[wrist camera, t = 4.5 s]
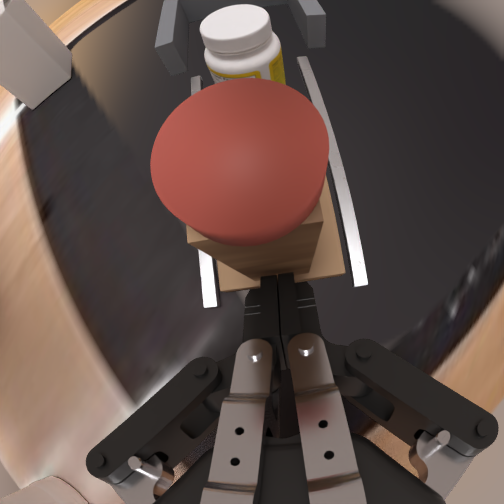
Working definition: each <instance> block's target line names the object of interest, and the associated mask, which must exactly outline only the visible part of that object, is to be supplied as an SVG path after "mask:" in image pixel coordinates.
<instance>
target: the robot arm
mask: <svg viewBox="0 0 504 504" xmlns="http://www.w3.org/2000/svg"><path fill="white" fill-rule="evenodd" d="M286 361H287V367H288V369H291V375H292V381H293V388H294V395H295V402H296V408H297V415H298V422H299V428H300V434H298V435H295V436H292V437H289V438H285V439H280V429H279V418H280V401H281V370H285V369H286ZM341 395H343V396H344V397H345V398H346V399H347V400H348V401H349V402H351V403H352V404H353V405H355V406H356V407H357V408H359V409H360V410H361V411H363V412H364V413H365V414H367V415H368V416H369V417H371V418H372V419H373V420H375V421H376V422H377V423H379V424H380V425H381V426H383V427H384V428H386V429H387V430H388V431H390V432H391V433H393V434H394V435H395V436H397V437H398V438H400V439H401V440H402V441H404V442H405V443H407V444H408V445H410V446H411V448H410V450H409V461H410V463H411V465H412V466H413V467H414V468H415V469H416V470H417V472H418V475H419V479H418V478H417V477H416V476H414V475H413V474H412V473H410V472H409V471H408V470H406V469H405V468H404V467H403V466H401V465H400V464H399V463H397V462H396V461H395V460H394V459H392V458H391V457H390V456H389V455H387V454H386V453H385V452H384V451H382V450H381V449H380V448H379V447H377V446H376V445H375V444H374V443H372V442H371V441H370V440H368V439H367V438H365V437H363V436H360V435H358V434H355V433H351V432H349V428H348V423H347V419H346V415H345V411H344V407H343V403H342V399H341ZM217 426H218V429H217V435H216V440H215V446H214V447H212V448H211V449H209V450H208V451H207V452H205V453H204V454H203V455H202V456H201V457H200V458H199V459H198V460H197V461H196V462H195V463H194V464H193V465H192V466H191V467H190V468H189V469H188V470H187V471H186V472H185V473H184V474H183V475H182V476H181V477H180V478H179V479H178V480H177V481H176V482H175V483H174V484H173V485H172V486H171V487H170V485H171V484H172V483H173V481H174V471H173V468H174V467H175V466H177V465H178V464H179V463H180V462H181V461H182V460H183V459H184V458H185V457H186V456H187V455H188V454H189V453H190V452H191V451H193V450H194V449H195V448H196V447H197V446H198V445H199V444H200V443H201V442H202V441H203V440H204V439H205V438H206V437H207V436H208V435H209V434H210V433H211V432H212V431H213V430H214V429H215V428H216V427H217ZM497 435H498V422H497V420H496V418H495V417H494V416H493V415H492V414H490V413H489V412H487V411H486V410H484V409H482V408H481V407H479V406H477V405H476V404H474V403H472V402H471V401H469V400H468V399H466V398H464V397H463V396H461V395H460V394H458V393H456V392H455V391H453V390H451V389H450V388H448V387H447V386H445V385H443V384H442V383H440V382H439V381H437V380H435V379H434V378H432V377H431V376H429V375H427V374H426V373H424V372H422V371H421V370H419V369H418V368H416V367H415V366H413V365H411V364H410V363H408V362H407V361H405V360H403V359H402V358H400V357H399V356H397V355H395V354H394V353H392V352H391V351H389V350H387V349H386V348H384V347H383V346H381V345H379V344H378V343H376V342H375V341H372V340H370V339H359V340H356V341H354V342H352V343H351V344H350V345H349V346H342V345H335V344H332V343H330V342H328V341H327V340H326V339H324V337H323V336H322V334H321V330H320V325H319V319H318V314H317V309H316V303H315V299H314V293H313V288H312V287H311V286H310V285H309V284H308V283H307V281H306V282H299V283H295V280H294V273H293V272H289V273H282V274H278V279H277V275H268V276H261V277H260V288H256V289H250V291H249V293H248V294H247V296H246V298H245V316H244V330H243V343H242V345H241V346H240V347H239V348H238V350H237V353H236V354H234V355H233V356H231V357H229V358H227V359H224V360H221V361H218V362H215V361H214V360H213V359H211V358H208V357H200V358H196V359H194V360H192V361H191V362H190V363H188V364H187V365H186V366H185V367H184V368H183V369H182V370H181V371H180V372H179V373H178V374H177V375H176V376H174V377H173V378H172V379H171V380H170V381H169V382H168V383H167V384H166V385H165V386H164V387H162V388H161V389H160V390H159V391H158V392H157V393H156V394H155V395H154V396H152V397H151V398H150V399H149V400H148V401H147V402H146V403H145V404H144V405H142V406H141V407H140V408H139V409H138V410H137V411H136V412H135V413H133V414H132V415H131V416H130V417H129V418H128V419H127V420H125V421H124V422H123V423H122V424H121V425H120V426H119V427H117V428H116V429H115V430H114V431H113V432H112V433H110V434H109V435H108V436H107V437H106V438H105V439H103V440H102V441H101V442H100V443H99V444H98V445H96V446H95V447H94V448H93V449H92V450H91V451H90V452H89V453H88V455H87V458H86V466H87V469H88V471H89V472H90V474H91V475H93V476H94V477H96V478H99V479H101V480H103V481H105V482H106V483H108V484H110V485H111V486H112V487H113V489H114V490H115V491H116V492H117V494H118V495H119V496H120V497H121V499H122V500H123V501H124V502H125V504H446V503H445V501H444V500H445V498H446V497H447V496H448V495H449V493H450V492H451V491H452V489H453V488H454V486H455V485H456V484H457V482H458V481H459V480H460V478H461V477H462V475H463V474H464V472H465V471H466V469H467V468H468V466H469V465H470V463H471V461H472V460H473V458H474V457H475V456H476V455H477V454H479V453H480V452H482V451H483V450H484V449H486V448H487V447H488V446H490V445H491V444H492V443H493V442H494V441H495V439H496V437H497ZM169 487H170V488H169ZM168 488H169V489H168Z"/></svg>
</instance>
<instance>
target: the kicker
mask: <svg viewBox="0 0 504 504" xmlns="http://www.w3.org/2000/svg"><path fill="white" fill-rule="evenodd" d="M328 157H329V137H328V132H327V128H326V125H325V123H324V120H323V118H322V116H321V115H320V113H319V111H318V110H317V109H316V107H315V106H314V105H313V104H312V103H311V102H310V101H309V100H308V99H307V98H306V97H305V96H304V95H302V94H301V93H299V92H298V91H296V90H295V89H293V88H291V87H289V86H287V85H284V84H282V83H279V82H275V81H271V80H267V79H260V78H240V79H233V80H227V81H223V82H220V83H216V84H214V85H211V86H209V87H206V88H204V89H202V90H200V91H198V92H197V93H195V94H193V95H192V96H190V97H189V98H188V99H186V100H185V101H184V102H182V103H181V104H180V105H179V106H178V107H177V108H176V109H175V110H174V111H173V112H172V113H171V114H170V116H169V117H168V118H167V119H166V121H165V123H164V124H163V126H162V127H161V129H160V131H159V133H158V135H157V137H156V140H155V143H154V146H153V150H152V155H151V176H152V181H153V184H154V187H155V190H156V192H157V194H158V196H159V198H160V200H161V201H162V202H163V204H164V205H165V206H166V208H167V209H168V210H169V211H171V212H172V213H173V214H174V215H175V216H176V217H177V218H179V219H180V220H182V221H183V222H184V223H186V226H187V241H188V243H189V244H190V245H192V246H194V247H196V248H197V249H199V250H201V251H203V252H204V253H206V254H208V255H210V256H211V257H213V258H215V259H217V265H218V275H219V284H220V291H223V292H233V291H240V290H248V289H255V288H260V277H261V276H268V275H277V279H278V274H282V273H289V272H293V273H294V280H295V283H298V282H304V281H311V280H317V279H324V278H329V277H336V276H342V275H343V274H344V273H345V268H344V262H343V256H342V250H341V244H340V239H339V234H338V229H337V224H336V219H335V214H334V209H333V205H332V200H331V195H330V191H329V187H328V182H327V178H326V169H327V164H328Z"/></svg>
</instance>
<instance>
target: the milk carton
mask: <svg viewBox="0 0 504 504" xmlns="http://www.w3.org/2000/svg"><path fill="white" fill-rule="evenodd" d="M71 65H72V53H71V52H70V50H69V49H68V48H67V47H66V46H65V45H64V44H63V43H62V42H61V40H60V39H59V38H58V37H57V36H56V35H55V34H54V33H53V31H52V30H51V29H50V28H49V27H48V26H47V25H46V24H45V23H44V22H43V20H42V19H41V18H40V17H39V16H38V15H37V14H36V13H35V11H34V10H33V9H32V8H31V7H30V6H29V5H28V4H27V3H26V1H25V0H0V85H1V86H3V87H4V88H5V89H6V90H8V91H9V92H10V93H11V94H13V95H14V96H15V97H17V98H18V99H19V100H20V101H22V102H23V103H24V104H25V105H27V106H28V107H29V108H31V109H32V110H33V109H34V108H36V107H37V106H38V105H39V104H40V103H41V102H42V101H44V100H45V99H46V98H47V97H48V96H49V95H51V94H52V93H53V92H54V91H55V90H57V89H58V88H59V87H60V86H61V85H63V84H64V83H65V82H67V81H68V80H69V79H70V78H71Z"/></svg>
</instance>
